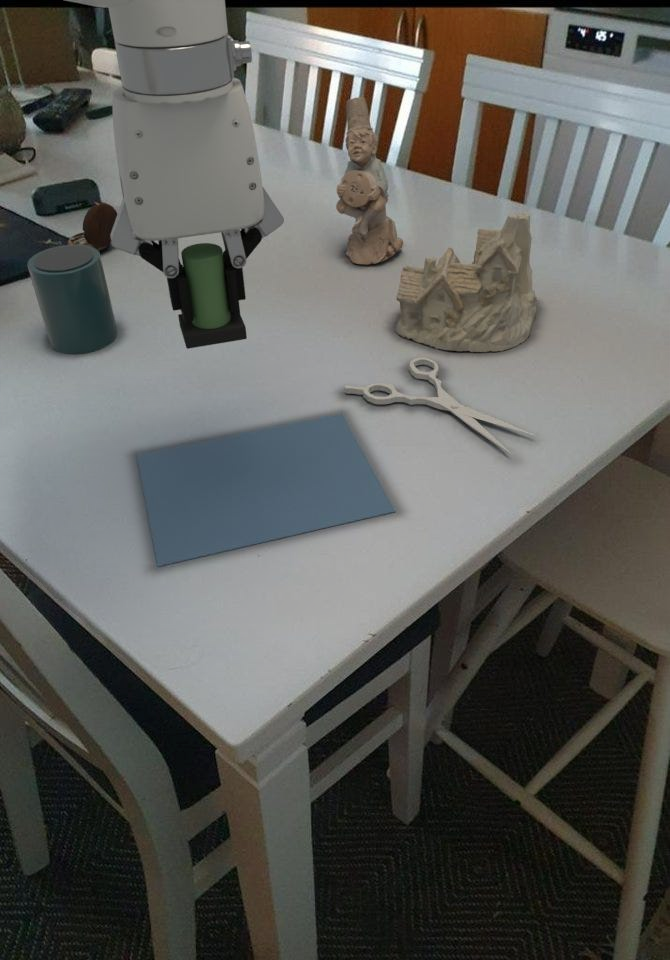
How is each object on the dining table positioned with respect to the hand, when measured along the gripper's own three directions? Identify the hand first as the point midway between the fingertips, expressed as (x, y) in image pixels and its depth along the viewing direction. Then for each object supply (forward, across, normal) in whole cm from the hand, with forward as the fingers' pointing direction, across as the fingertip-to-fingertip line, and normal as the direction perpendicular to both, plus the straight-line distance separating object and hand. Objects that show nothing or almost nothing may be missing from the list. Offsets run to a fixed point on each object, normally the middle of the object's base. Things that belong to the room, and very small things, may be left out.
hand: (209, 310), depth 66 cm
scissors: (+17, -23, -2) cm, 28 cm away
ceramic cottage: (+17, -33, -20) cm, 42 cm away
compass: (+17, +11, -57) cm, 60 cm away
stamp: (+2, 0, 0) cm, 2 cm away
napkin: (+17, -2, +3) cm, 17 cm away
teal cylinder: (+17, +12, -31) cm, 37 cm away
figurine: (+17, -28, -42) cm, 53 cm away
